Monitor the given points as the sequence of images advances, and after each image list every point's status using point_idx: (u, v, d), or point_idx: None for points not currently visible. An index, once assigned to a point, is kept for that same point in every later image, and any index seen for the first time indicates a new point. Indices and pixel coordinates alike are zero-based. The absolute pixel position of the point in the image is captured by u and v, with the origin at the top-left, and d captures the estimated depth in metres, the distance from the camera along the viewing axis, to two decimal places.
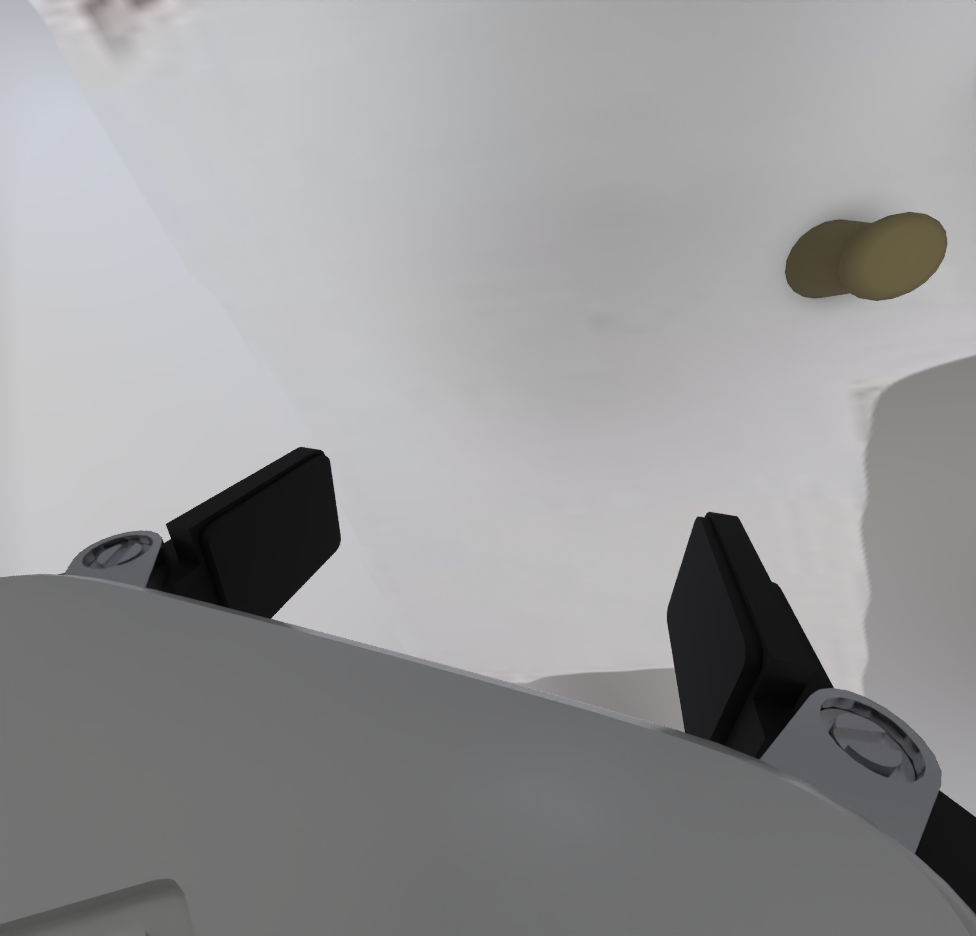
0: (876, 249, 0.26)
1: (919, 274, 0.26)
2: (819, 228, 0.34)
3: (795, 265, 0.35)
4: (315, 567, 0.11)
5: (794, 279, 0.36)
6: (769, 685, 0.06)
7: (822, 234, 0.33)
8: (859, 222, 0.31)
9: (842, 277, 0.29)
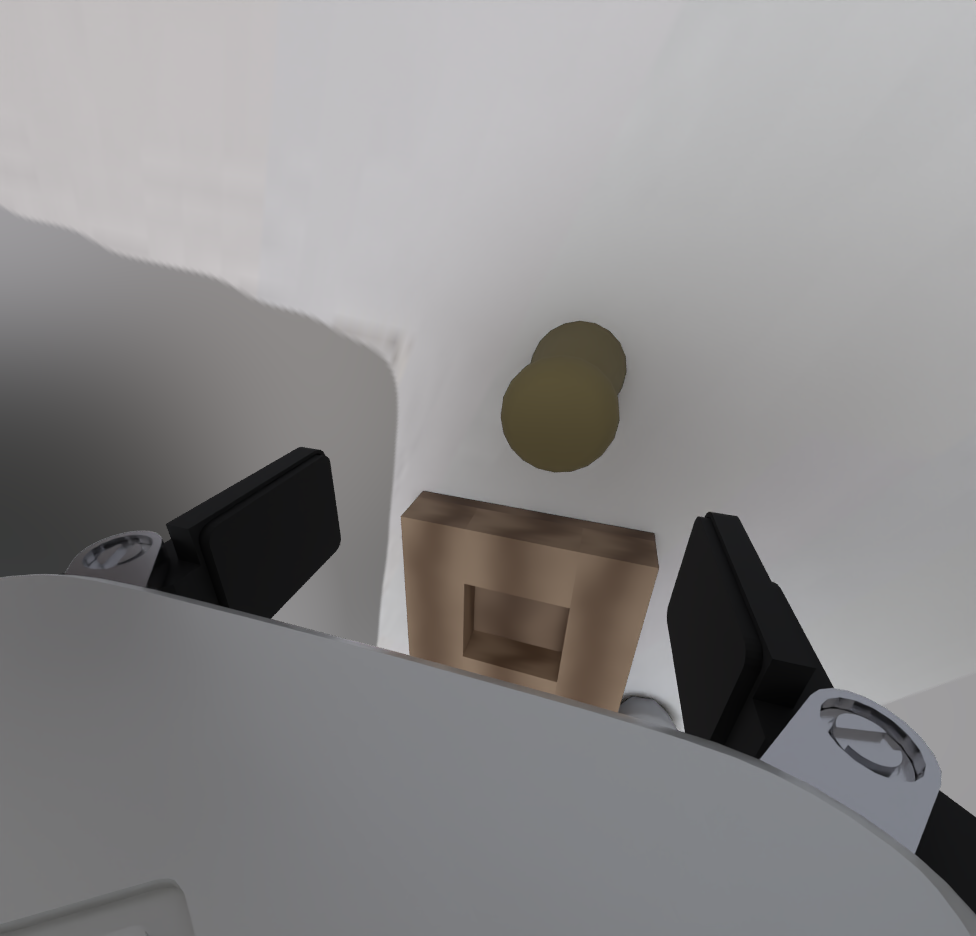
0: (590, 403, 0.16)
1: (520, 432, 0.18)
2: (623, 376, 0.25)
3: (600, 334, 0.24)
4: (315, 567, 0.11)
5: (581, 326, 0.24)
6: (769, 685, 0.06)
7: (620, 373, 0.23)
8: None
9: (571, 357, 0.17)
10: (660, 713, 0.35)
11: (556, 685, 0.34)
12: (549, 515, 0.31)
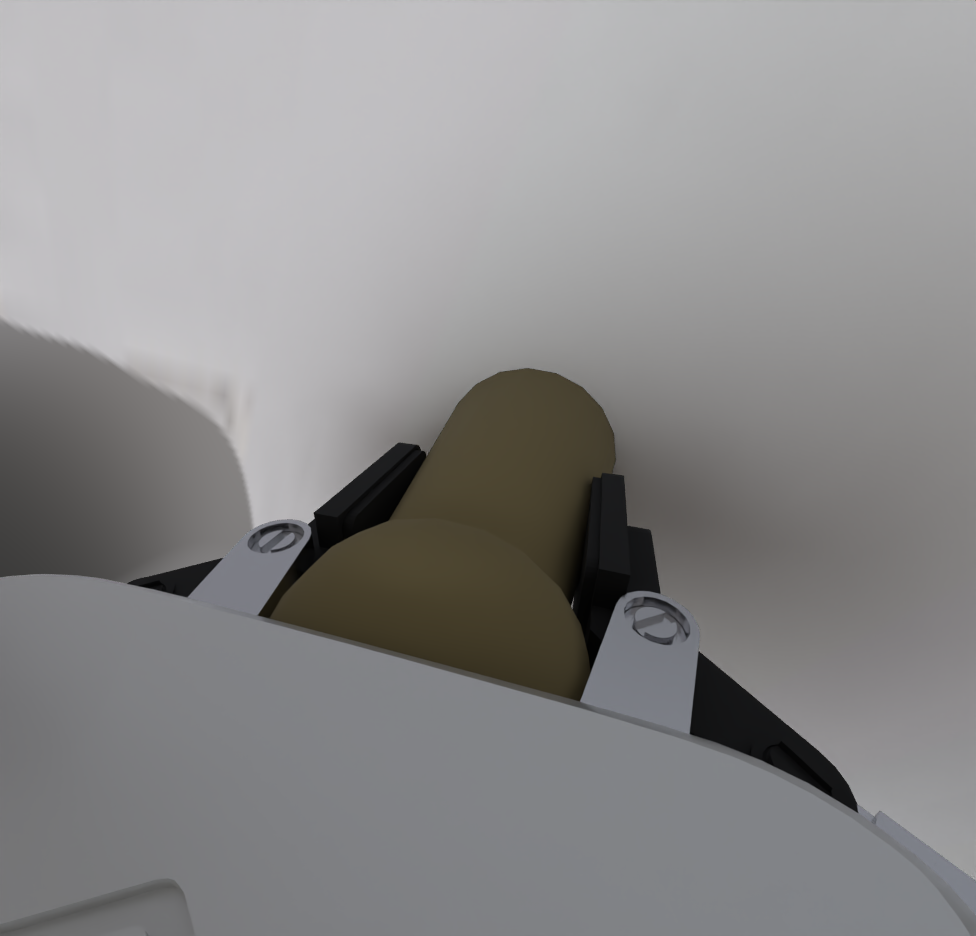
0: None
1: None
2: None
3: (563, 400, 0.12)
4: None
5: (527, 383, 0.12)
6: (602, 592, 0.07)
7: None
8: None
9: (440, 547, 0.06)
10: None
11: None
12: None
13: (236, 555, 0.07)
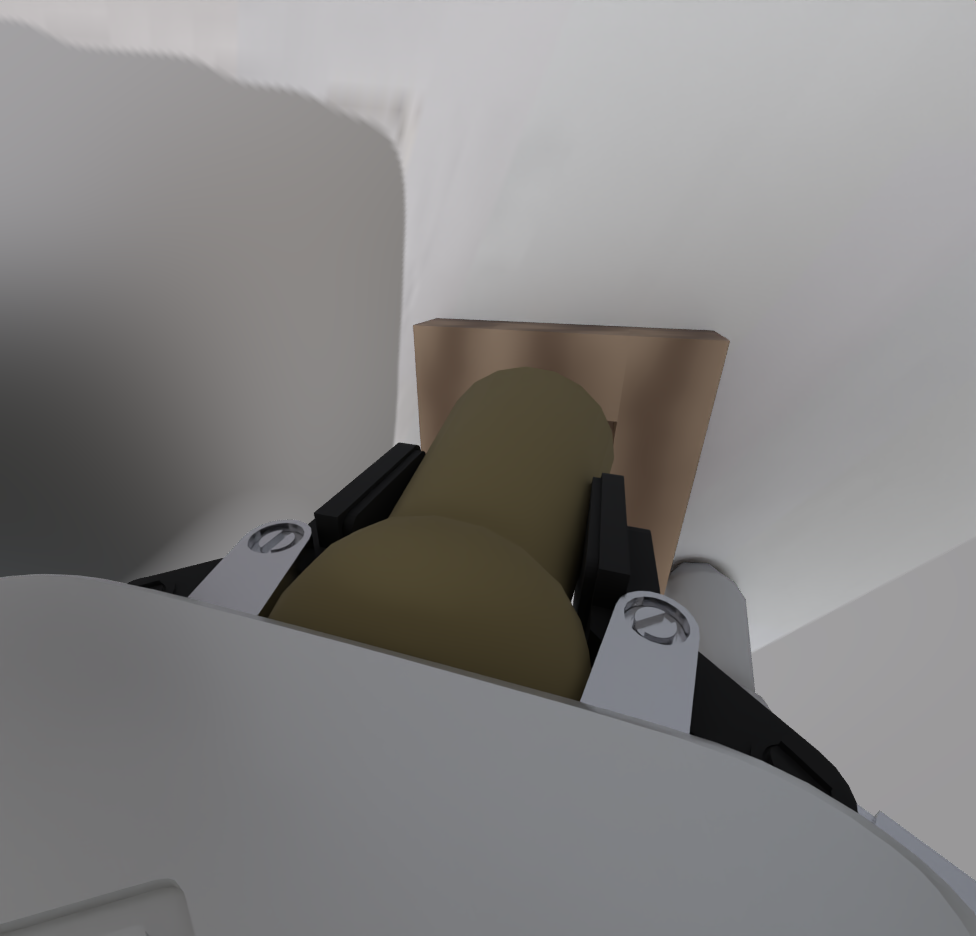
0: None
1: None
2: (609, 473, 0.13)
3: (562, 398, 0.12)
4: None
5: (526, 381, 0.12)
6: (601, 592, 0.07)
7: None
8: None
9: (441, 544, 0.06)
10: (719, 572, 0.30)
11: None
12: (586, 325, 0.27)
13: (236, 555, 0.07)
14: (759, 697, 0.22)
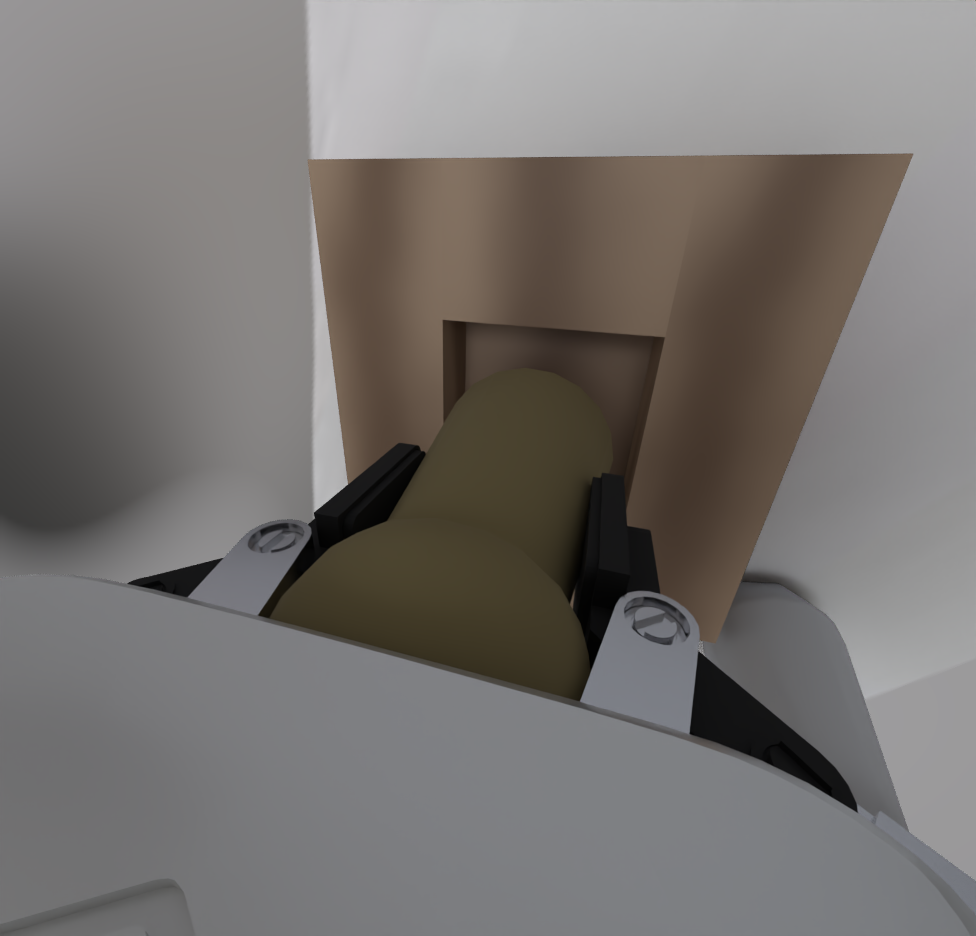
0: None
1: None
2: None
3: (561, 399, 0.12)
4: None
5: (525, 382, 0.12)
6: (601, 592, 0.07)
7: None
8: None
9: (440, 547, 0.06)
10: (802, 599, 0.19)
11: None
12: None
13: (236, 555, 0.07)
14: None
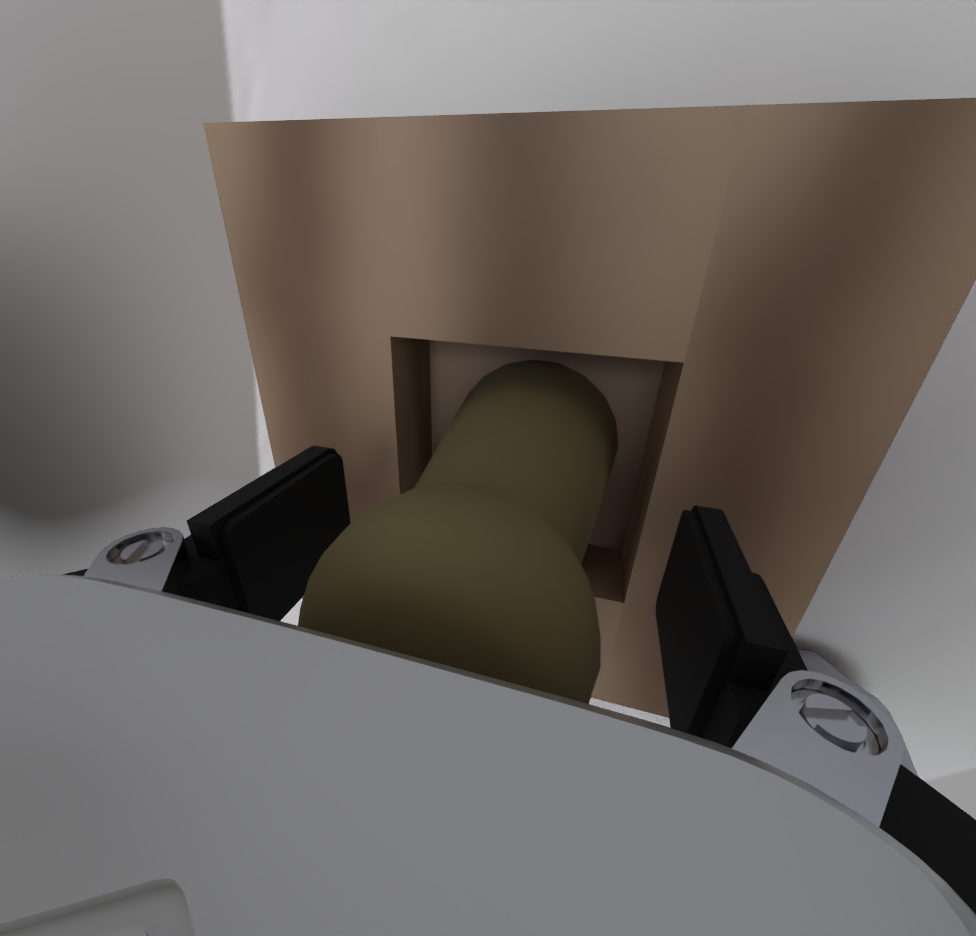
0: (506, 674, 0.05)
1: None
2: (613, 458, 0.14)
3: (567, 387, 0.13)
4: None
5: (533, 372, 0.13)
6: (745, 668, 0.06)
7: (606, 463, 0.12)
8: None
9: (463, 504, 0.06)
10: (847, 678, 0.16)
11: (621, 611, 0.14)
12: None
13: (98, 572, 0.07)
14: None
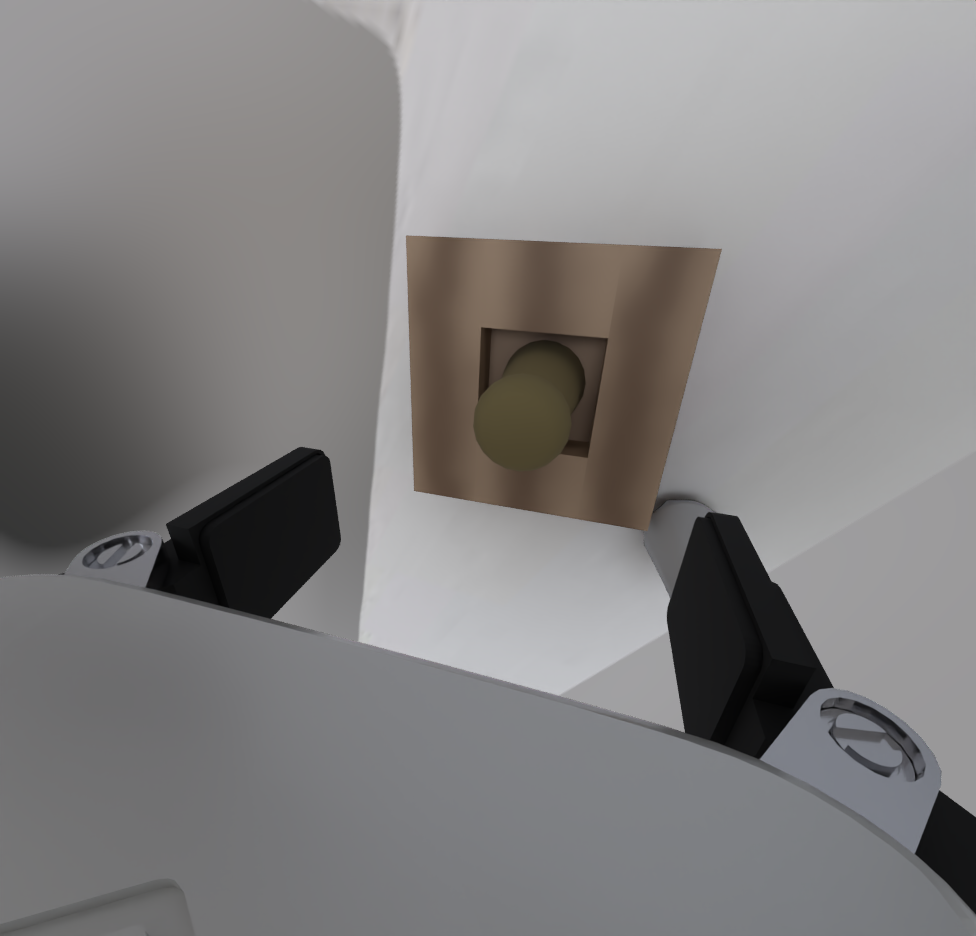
0: (544, 413, 0.20)
1: (488, 438, 0.21)
2: (582, 387, 0.29)
3: (560, 351, 0.28)
4: (315, 567, 0.11)
5: (544, 345, 0.28)
6: (769, 685, 0.06)
7: (578, 385, 0.27)
8: None
9: (529, 375, 0.21)
10: (703, 505, 0.31)
11: (586, 463, 0.29)
12: None
13: None
14: None
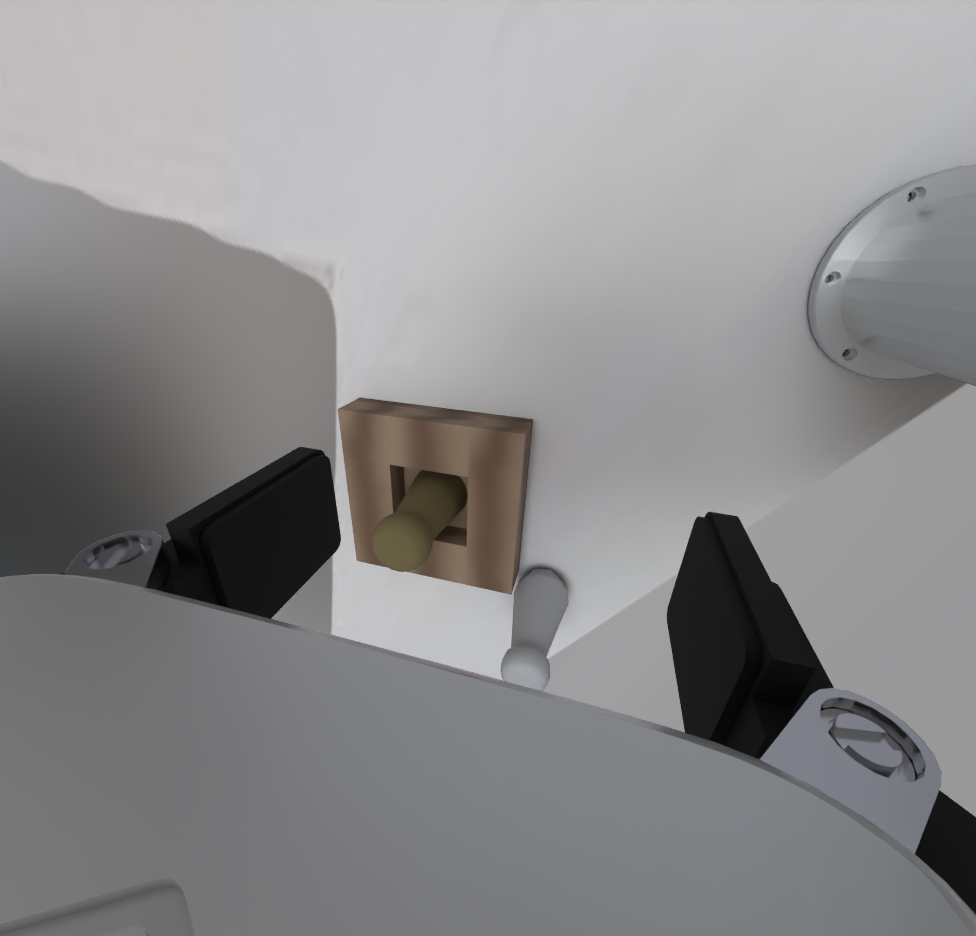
0: (408, 543, 0.34)
1: (379, 554, 0.35)
2: (462, 499, 0.42)
3: (444, 478, 0.41)
4: (315, 567, 0.11)
5: (435, 472, 0.42)
6: (769, 685, 0.06)
7: (455, 502, 0.41)
8: (447, 524, 0.40)
9: (403, 516, 0.35)
10: (552, 575, 0.44)
11: (466, 549, 0.42)
12: (455, 410, 0.40)
13: None
14: (540, 653, 0.36)
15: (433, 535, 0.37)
